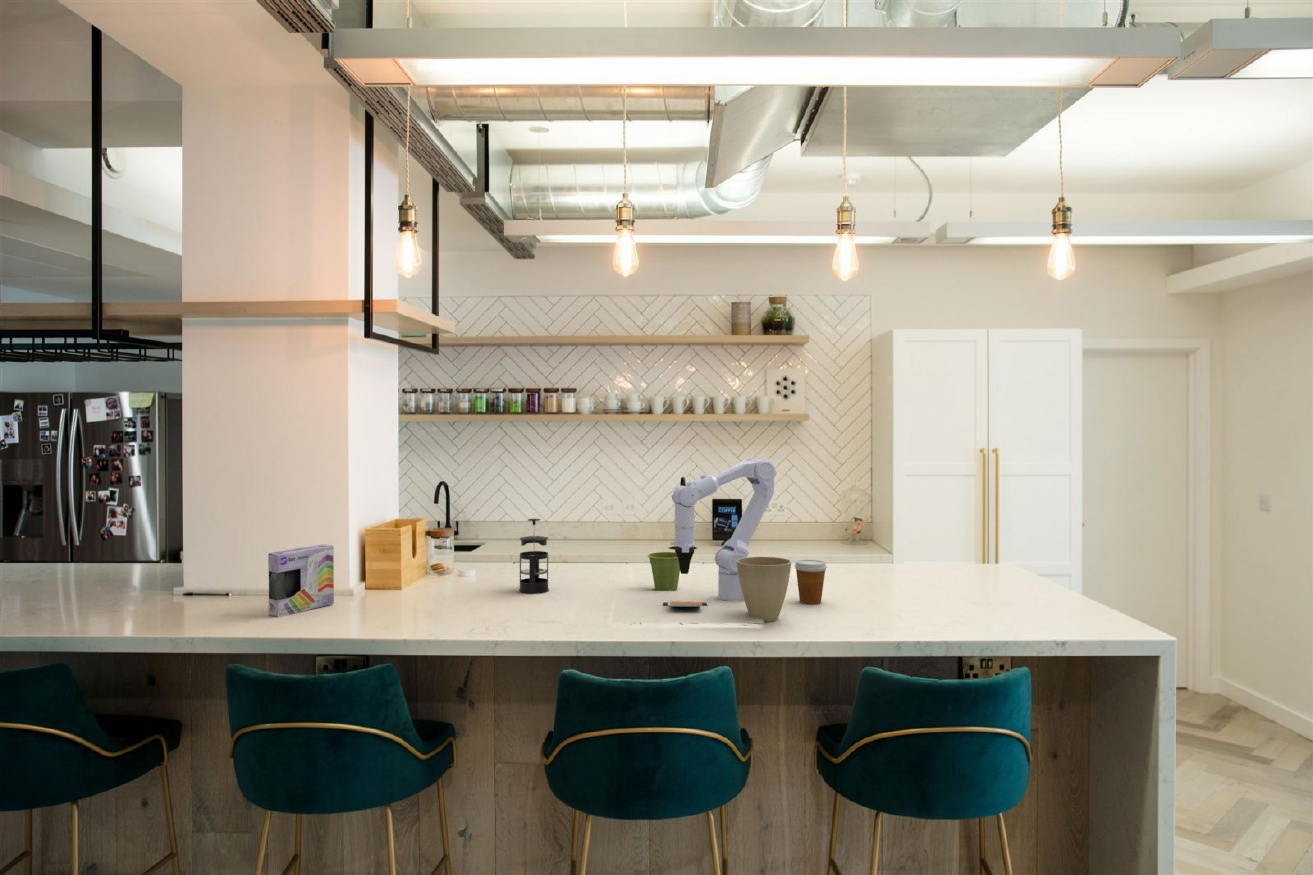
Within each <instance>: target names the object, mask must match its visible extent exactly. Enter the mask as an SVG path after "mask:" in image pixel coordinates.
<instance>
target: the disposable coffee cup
mask: <svg viewBox="0 0 1313 875" xmlns="http://www.w3.org/2000/svg"><path fill="white" fill-rule="evenodd" d="M794 568H795V571H796V572H795V573H796V579H797V580H796V581H797V588H798V589H797V590H798V596H799V597H798V598H799V602H800V603H801V604H806V605H819V604H821V603H822V598H823V597H822V596H823V590H824V583H825V582H824V581H825V576H826V575H825V574H826V571H827V570H826V569H827V568H828V566H827V565H826V562H825V561H823V560H818V559H800V560H796V561H795V564H794Z"/></svg>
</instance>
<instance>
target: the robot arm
mask: <svg viewBox="0 0 1313 875" xmlns="http://www.w3.org/2000/svg"><path fill="white" fill-rule="evenodd" d="M777 474H778V473H777V471H776V469H775V465H774V463H773V462H772V461H771V460H769V459H756V458H749V459H747V460H742V461H740V462H739V463H737V464H734V465H733V466H732V467H730V468H727V469H726V470H724V471H721V472H719V473H717V474H716V475H714V476H713V475H710V474H702V475H700V477H699V478H698V479H695V480H694V481H692V482H691V481H687V482H686V485H685V486H684V485H679V486H677V487H676V488H674V490H673V493H672V495H671V500H672V502H673V503H674V541H670V545H671V546H676V547H679V548H675V549H674V552H676V554H677V557H678V560H679V567H680V574H682V575H688V574H689V571H690V565H691V561H692V558H693V556H694V554H695V548H693V546H695V545H696V542H695V505H696V504H697V502H698V501H700V500H703V499H704V498H707V497H710V496H711V495H713V494H716V492H717V491H718V488H719V487H720V486H723V485H726V484H728V483H730V482H732V481H735V480H737V479H740V478H746V479H747V480H748V481H749V483H750V484H751V487H752V489H753V494H752V496H751V497H750V498H751V499H750V500H749V501H748V504H747V505H746V508H745V510H744V512H743V514H742V516H741V518H740V520H739V522H738V524H737V526H736V528H735V529H734V531H733V534H732V535H731V538H729V539H727V540H726V541H724V544H723V545H722V547H721V548H719V549H717V552H716V553H715V555H714V560H715V564H716V565H717V567H718V571H717V572H718V578H717V579H718V590H717V591H718V592H717V594H718V596H717V598H718V600H721V601H744V597H743V594H742V590H741V585H740V581H739V575H738V569H737V562H736V561H737V560H738V559H741V558H747V557H749V554H750V553H749V547H748V545H749V543H750V542H751V540H752V539H753V538H752V537H753V535H754V533H755V532H756V529H757V527H758V526H759V523H760V522H761V520H762V518H763V516H764V514H765V513H766V510H767V508H768V506H769V504H770V503H771V500H772V498H773V496H774V492H775V478H776V475H777Z"/></svg>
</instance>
